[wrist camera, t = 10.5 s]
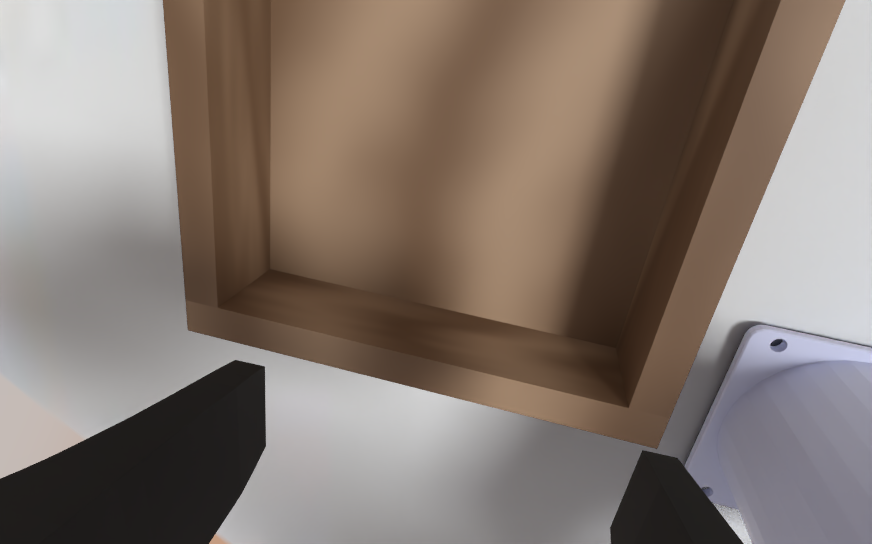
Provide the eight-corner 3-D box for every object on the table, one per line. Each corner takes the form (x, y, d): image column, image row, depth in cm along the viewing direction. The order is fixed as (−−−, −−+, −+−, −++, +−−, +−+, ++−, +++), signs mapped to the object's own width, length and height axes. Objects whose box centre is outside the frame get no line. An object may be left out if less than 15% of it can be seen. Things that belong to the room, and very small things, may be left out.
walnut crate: (790, -55, 14) (888, -102, 10) (636, 368, 20) (656, 448, 16) (252, -116, 16) (149, -175, 12) (256, 279, 22) (187, 330, 18)
